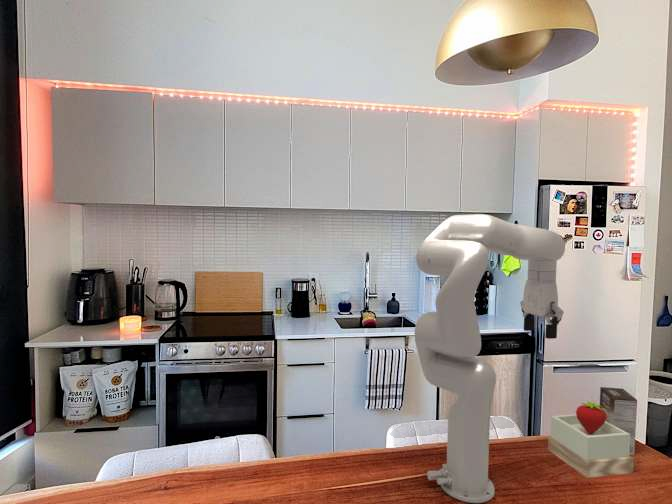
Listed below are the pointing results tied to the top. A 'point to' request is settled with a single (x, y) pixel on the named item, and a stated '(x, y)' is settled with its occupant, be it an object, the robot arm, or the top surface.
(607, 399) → the coffee box
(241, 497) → the top surface
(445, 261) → the robot arm
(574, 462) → the maple base block
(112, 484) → the top surface
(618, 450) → the sage top block
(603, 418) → the strawberry
